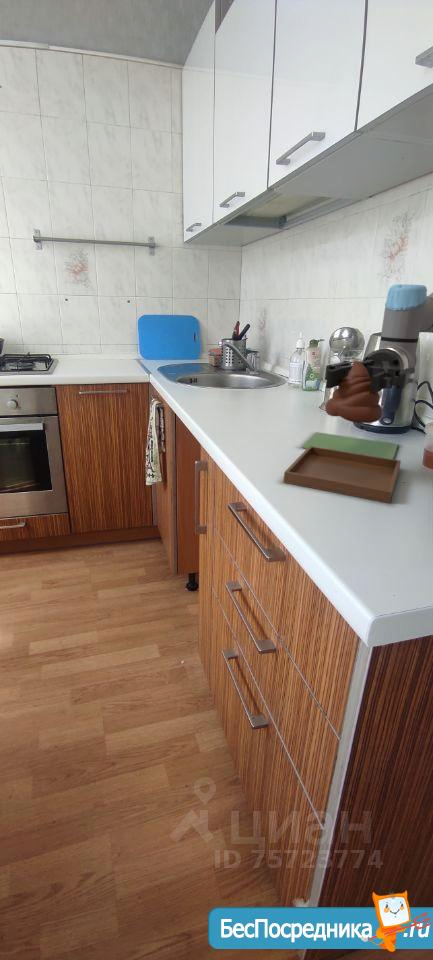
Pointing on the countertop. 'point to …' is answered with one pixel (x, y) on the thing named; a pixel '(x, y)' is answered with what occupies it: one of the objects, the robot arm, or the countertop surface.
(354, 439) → the mat
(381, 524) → the countertop surface
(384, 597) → the countertop surface
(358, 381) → the poop emoji
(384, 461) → the tray
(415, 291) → the robot arm
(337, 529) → the countertop surface
